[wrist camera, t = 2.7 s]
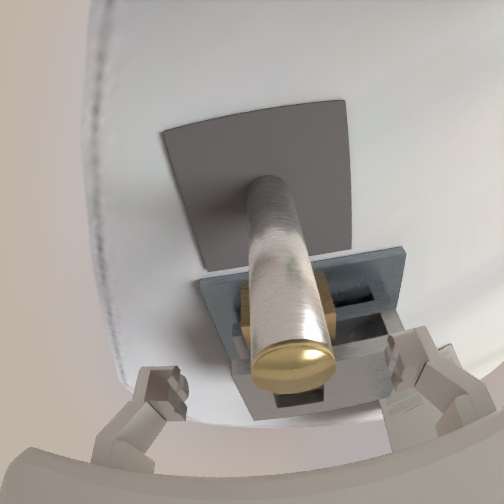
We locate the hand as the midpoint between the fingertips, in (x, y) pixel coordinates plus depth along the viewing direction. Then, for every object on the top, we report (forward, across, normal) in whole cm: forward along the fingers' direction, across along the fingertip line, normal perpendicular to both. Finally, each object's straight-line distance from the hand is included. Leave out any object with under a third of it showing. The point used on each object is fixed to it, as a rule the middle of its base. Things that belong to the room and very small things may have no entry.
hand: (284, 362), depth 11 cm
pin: (+13, 0, -1) cm, 13 cm away
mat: (+14, 0, -1) cm, 14 cm away
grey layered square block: (+14, -2, +15) cm, 21 cm away
